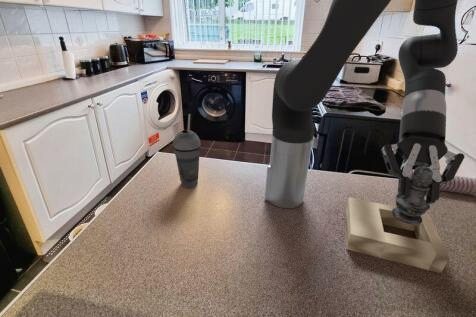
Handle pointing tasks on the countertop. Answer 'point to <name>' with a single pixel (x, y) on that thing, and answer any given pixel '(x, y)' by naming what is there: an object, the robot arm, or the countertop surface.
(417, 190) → the grey tall knobbed piece
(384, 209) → the jig
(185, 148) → the beverage cup
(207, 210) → the countertop surface
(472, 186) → the coil
